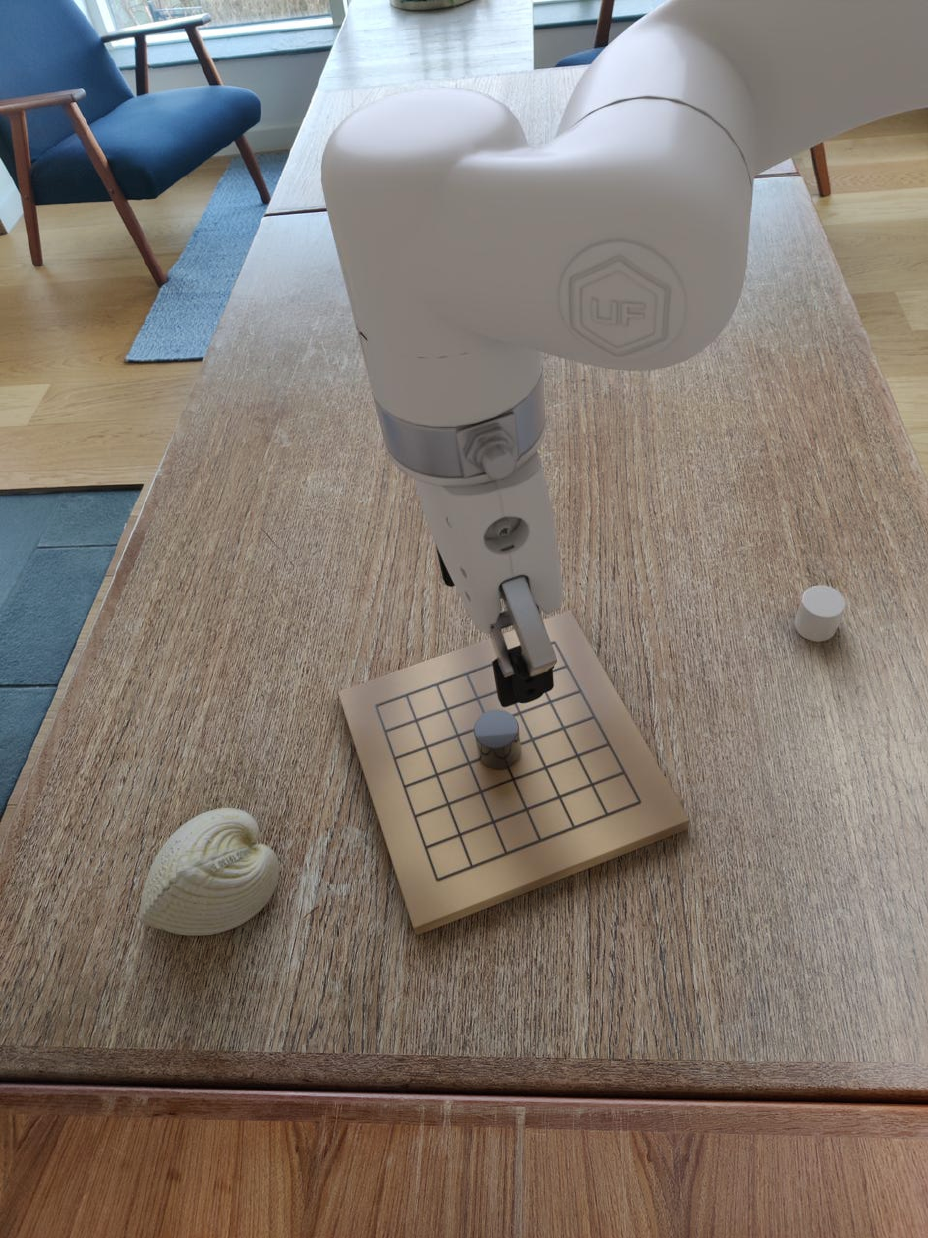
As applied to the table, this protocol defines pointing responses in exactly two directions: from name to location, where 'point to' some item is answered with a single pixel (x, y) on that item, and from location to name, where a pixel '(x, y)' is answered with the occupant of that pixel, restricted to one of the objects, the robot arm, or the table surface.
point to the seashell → (209, 875)
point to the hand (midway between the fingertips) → (495, 632)
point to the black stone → (497, 739)
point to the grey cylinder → (819, 613)
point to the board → (504, 778)
